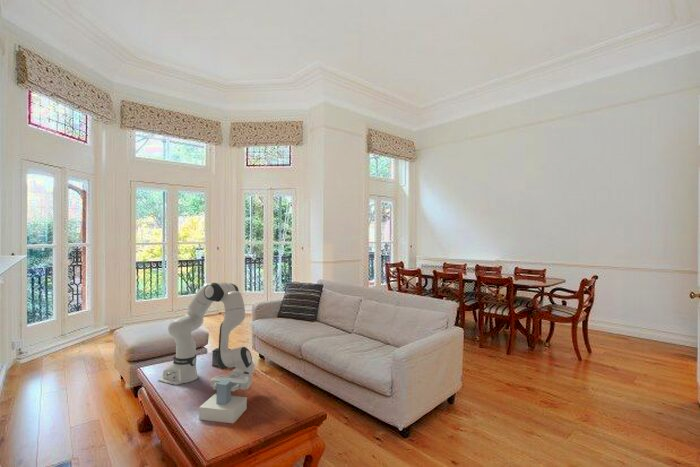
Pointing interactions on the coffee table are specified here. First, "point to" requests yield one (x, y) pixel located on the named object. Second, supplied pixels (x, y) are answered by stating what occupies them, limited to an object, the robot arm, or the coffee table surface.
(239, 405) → the base
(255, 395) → the coffee table surface
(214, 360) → the small box
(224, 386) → the slate block
